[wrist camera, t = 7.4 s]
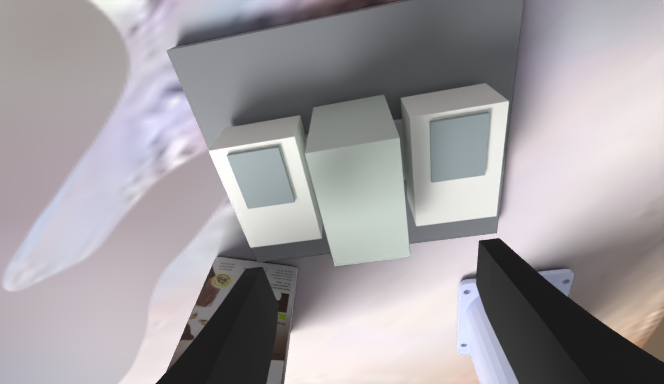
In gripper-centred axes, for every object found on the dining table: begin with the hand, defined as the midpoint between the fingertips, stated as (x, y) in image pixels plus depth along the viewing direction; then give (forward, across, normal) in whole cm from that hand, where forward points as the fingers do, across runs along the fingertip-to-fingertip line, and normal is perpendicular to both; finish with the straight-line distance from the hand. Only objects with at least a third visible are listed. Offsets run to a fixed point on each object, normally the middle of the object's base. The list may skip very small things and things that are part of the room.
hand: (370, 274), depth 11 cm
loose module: (+8, 0, 0) cm, 8 cm away
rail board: (+10, 0, 0) cm, 10 cm away
